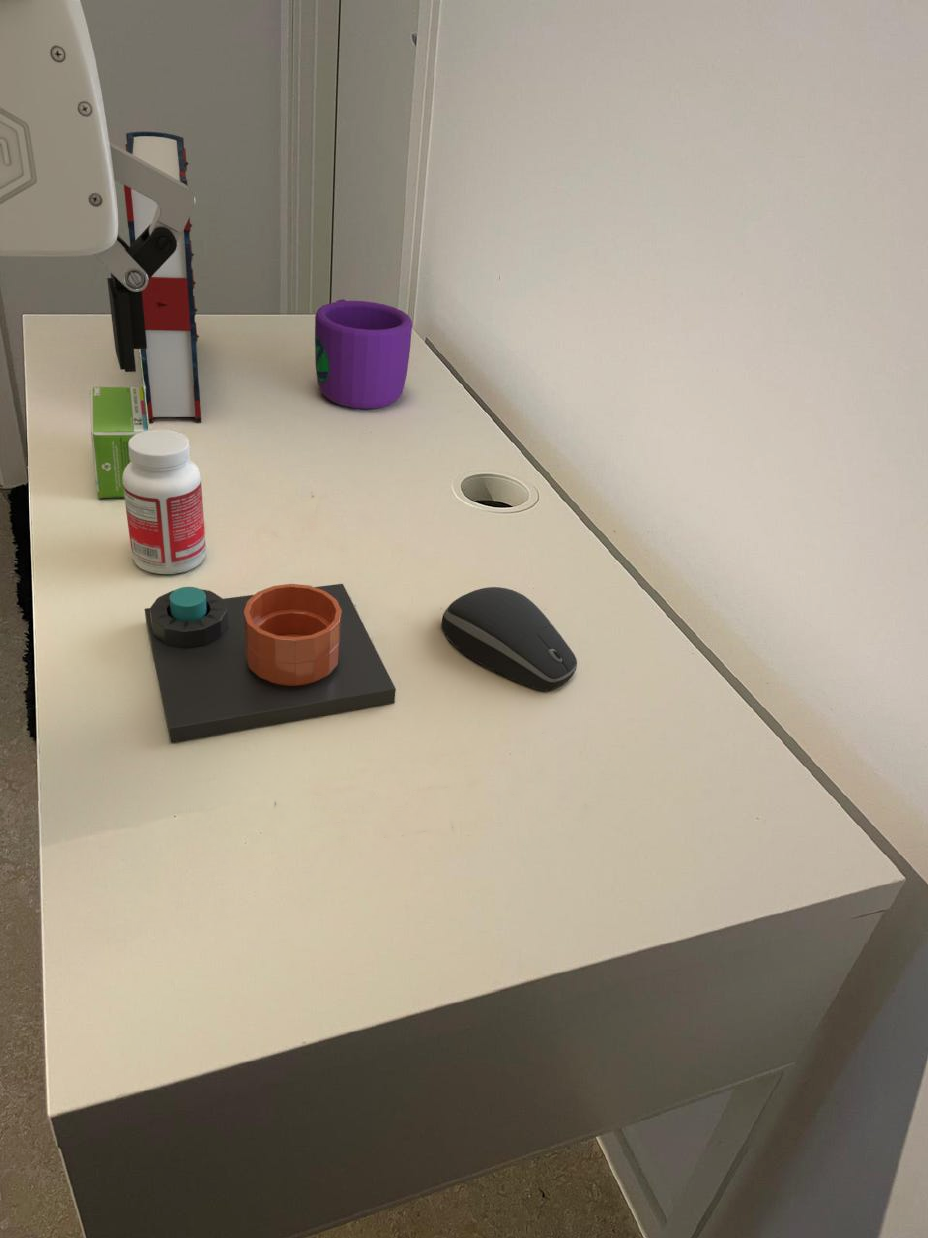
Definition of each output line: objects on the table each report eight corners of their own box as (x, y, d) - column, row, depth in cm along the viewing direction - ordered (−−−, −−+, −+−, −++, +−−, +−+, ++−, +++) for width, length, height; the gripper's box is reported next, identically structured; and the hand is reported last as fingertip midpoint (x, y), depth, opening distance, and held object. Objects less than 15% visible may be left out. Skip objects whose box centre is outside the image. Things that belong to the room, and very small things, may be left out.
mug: (419, 411, 110) (427, 330, 104) (329, 417, 105) (332, 333, 100) (372, 358, 122) (376, 283, 116) (290, 362, 118) (290, 284, 112)
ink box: (97, 451, 93) (78, 315, 84) (151, 449, 94) (138, 315, 86) (97, 501, 85) (77, 356, 77) (157, 498, 86) (143, 356, 78)
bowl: (256, 697, 64) (255, 646, 61) (238, 639, 69) (236, 590, 66) (349, 681, 66) (352, 632, 63) (325, 627, 71) (326, 579, 68)
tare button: (173, 625, 67) (172, 608, 66) (168, 605, 69) (167, 588, 68) (209, 620, 68) (208, 603, 67) (203, 600, 70) (202, 584, 69)
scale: (170, 743, 61) (167, 710, 59) (145, 622, 71) (142, 591, 69) (394, 703, 67) (397, 672, 65) (342, 596, 77) (343, 567, 75)
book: (144, 340, 118) (123, 128, 103) (199, 341, 120) (186, 132, 105) (142, 423, 99) (116, 176, 84) (207, 423, 101) (193, 181, 86)
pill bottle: (206, 538, 82) (199, 425, 75) (206, 576, 77) (199, 459, 71) (133, 539, 80) (120, 424, 74) (129, 578, 76) (114, 458, 69)
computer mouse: (540, 705, 69) (549, 664, 66) (422, 630, 74) (427, 591, 72) (591, 666, 73) (601, 627, 71) (476, 599, 79) (482, 560, 77)
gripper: (-368, -103, 29) (-198, 405, 39) (194, -32, 35) (215, 388, 45) (-310, -104, 34) (-174, 342, 44) (167, -43, 40) (191, 335, 50)
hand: (22, 365), depth 44 cm, fingers open, 9 cm apart
